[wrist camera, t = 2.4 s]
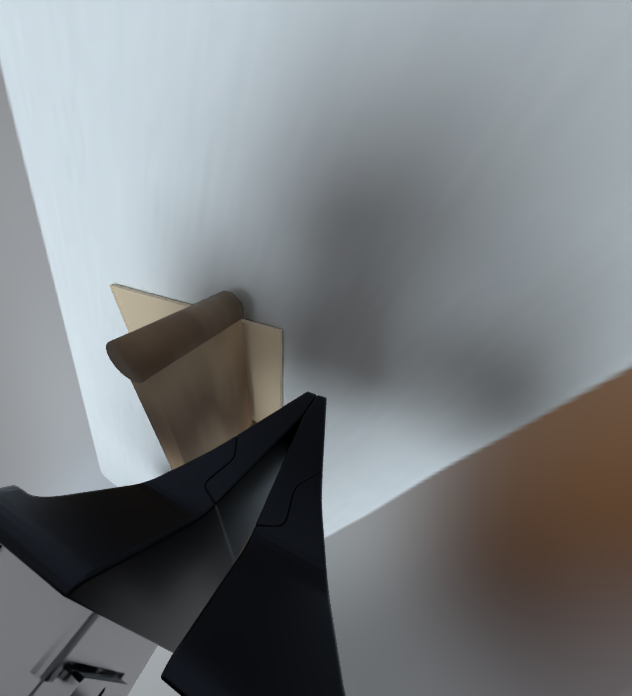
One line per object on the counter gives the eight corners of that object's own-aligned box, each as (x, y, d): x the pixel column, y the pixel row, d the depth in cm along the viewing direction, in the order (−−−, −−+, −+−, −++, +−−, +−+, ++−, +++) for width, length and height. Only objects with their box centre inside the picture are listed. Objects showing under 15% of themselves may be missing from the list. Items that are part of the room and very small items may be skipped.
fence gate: (254, 424, 16) (197, 499, 12) (235, 416, 17) (173, 486, 13) (242, 294, 11) (135, 349, 7) (214, 288, 12) (98, 335, 8)
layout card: (282, 507, 23) (280, 511, 23) (183, 458, 27) (180, 461, 26) (282, 329, 12) (278, 332, 12) (114, 283, 16) (108, 285, 15)
